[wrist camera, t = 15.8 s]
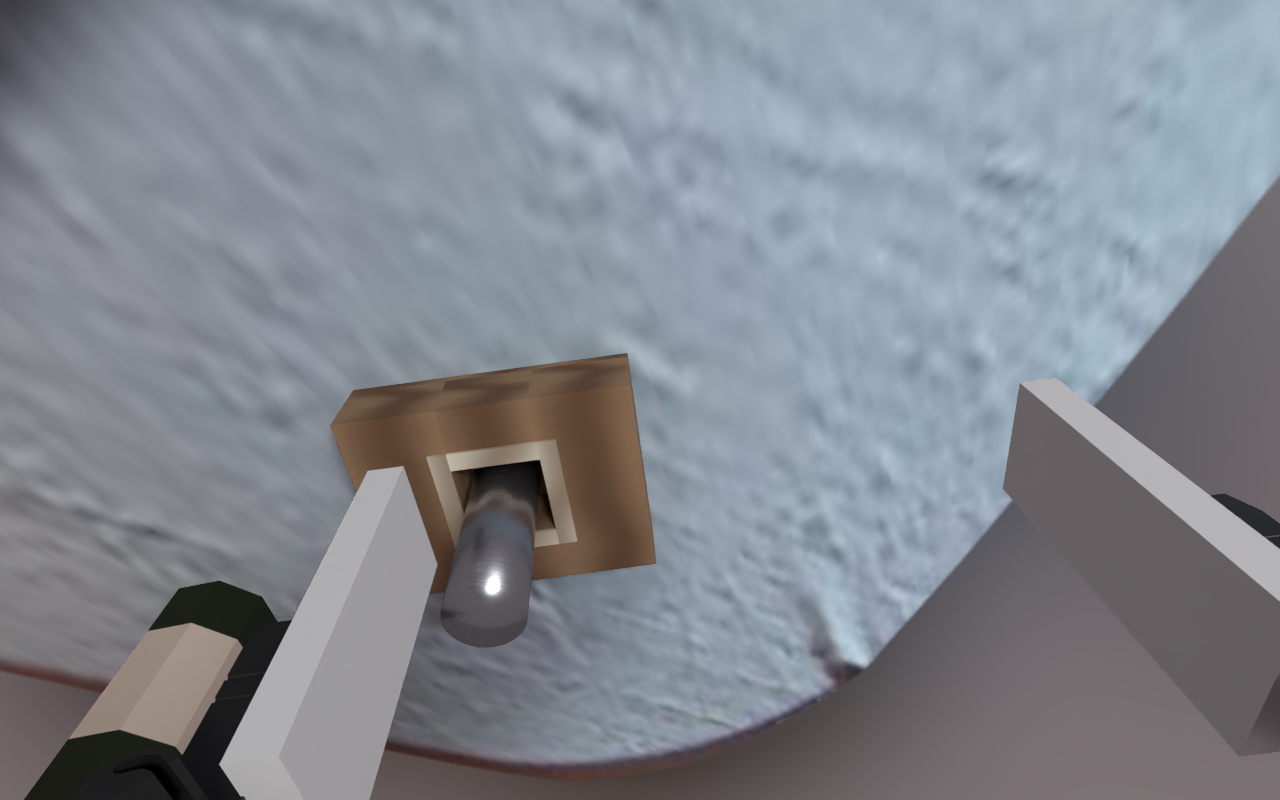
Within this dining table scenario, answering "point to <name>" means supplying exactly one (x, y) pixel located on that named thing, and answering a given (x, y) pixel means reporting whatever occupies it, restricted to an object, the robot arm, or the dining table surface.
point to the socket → (516, 456)
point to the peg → (494, 556)
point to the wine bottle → (160, 684)
